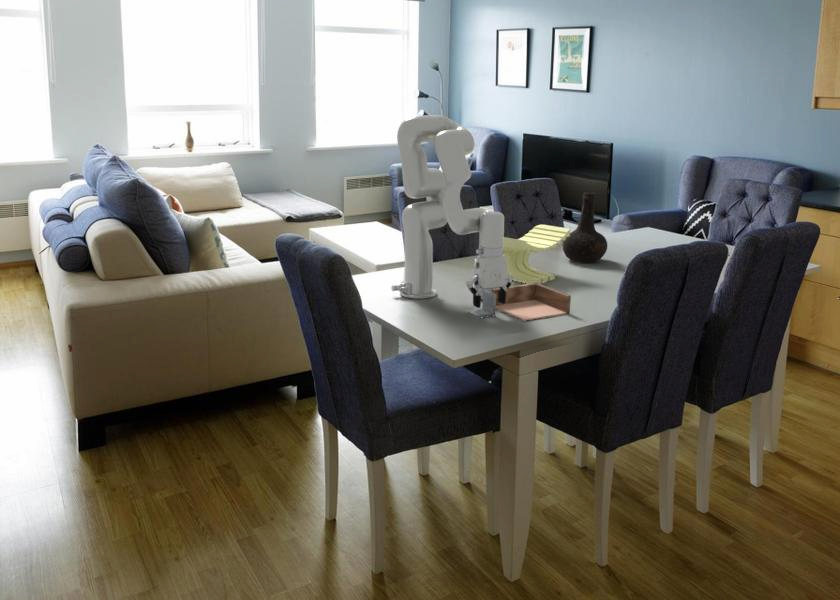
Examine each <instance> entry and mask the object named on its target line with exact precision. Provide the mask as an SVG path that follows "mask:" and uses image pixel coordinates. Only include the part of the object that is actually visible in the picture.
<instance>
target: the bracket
mask: <svg viewBox="0 0 840 600" xmlns="http://www.w3.org/2000/svg"><path fill="white" fill-rule="evenodd" d="M481 302H482V307H481V308H477V309H470V310H466V313H465V314H466V315H468V314H469V315H468V316H470V315H471V316H470V317H472V316H473V317H472V318H474V317H475V318H474V319H476V318H479V319H482V318H481V317H485V318H488V317H487V316H492V317H494V316H493V315H495V316H496V310H497V309H496V294H493V293H491V292H489V291H486V290H483V299H482V301H481Z"/></svg>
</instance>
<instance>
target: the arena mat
mask: <svg viewBox="0 0 840 600" xmlns="http://www.w3.org/2000/svg"><path fill="white" fill-rule="evenodd" d="M497 309H499V310H498V311H500V310H501V311H500V312H502V311H503V312H502V313H504V312H505V313H504V314H506V313H507V315H508V314H510V315H509V316H511V315H512V316H511V317H513V316H514V317H513V318H515V317H516V319H517V318H519V319H518V320H520V319H521V320H520V321H522V320H523V321H522V322H528V321H527V320H530V321H534V320H533V319H536V320H541V319H546V317H547V318H553V317H557V316H558V317H559V316H563V315H564V316H566V315H567V314H566V312H563V311H561V310H558V309H556V308H554V307H551V306H549V305H546V304H544V303H541V302H539V301H536V300H530V301H524V302H517V303H511V304H504V305H498V306H496V310H497ZM540 318H541V319H540Z"/></svg>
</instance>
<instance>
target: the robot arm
mask: <svg viewBox="0 0 840 600" xmlns="http://www.w3.org/2000/svg"><path fill="white" fill-rule="evenodd" d="M396 140H397V145H398V149H399V154H400V161H401V174H402V183H403V190H404V193H405V195H406V197H408V198H410V199H423V198H426V201H420V202H419V201H418V202H414V203H411V204H408V205H407V206H406V207H405V208H404V209H403V210H402V213H401V222H402V228H403V235H404V237H403V238H404V280H402V281H401V283H400V284H394V285H391V291H392V292H397V291H398V292H399V295H400V296H401V297H405V298H408V299H417V300H418V299H419V300H420V299H429V298H433V297H435V296H437V289H435V288H433V261H434V260H433V258H434V257H433V255H434V249H433V248H434V247H433V245H434V244H433V240H432V239H433V238H432V237H431V235H430V232H429V230H433V229H440V228H442V227H445V225H447V223H448V226H449V228H450V229H451V231H452V232H454V233H455V234H456V235H459V236H462V235H463V236H464V235H468V234H474V233H478V234H479V235H478V236H479V239H478V249H476V250H475V254H478V255H477V257H476V259H477V260H476V265H475V264H474V273H473V274H474V275H473V276H472V277H471V278H470V279H469V280H467V281H466V282H465V284H466V286H467V288H468V291H469V292H471V294H472V304H473V307H475V308H477V309H481V308H482V307H481V302H482V301H481V300H482V299H481V296H480V295H479V294H480V293H481V291H482V290H483V289H493V288H500V290H499V291H498V302H500V303H502V304H505V300H506V292H507V291H508V288H509V287H510V286H511V285H512V282H513V281H512V280H513V278H514V277H513V276H511V275H509V274H507V263H506V257H505V255H503V242H504V237H505V236H504V234H505V215H504V214H503V213H502V212H500V211H490V210H488V209H486V208H482V207H473V208H466V209H464V208H463V204H462V201H461V191H462V188H463V186H464V184H465V183H467V181H468V180H470V178H471V177H472V170H471V168H470V165H469V162H468V159H467V155H470V154H471V153H472V152H473V151H474V149H475V145H476V144H475V139H474V136H473V134H472V133H471V132H470V131H469V130H468V129H467V128H465V127H464V126H463V125H461V124H460V123H457V122H456V121H454V120H453V119H451V118H449V117H447V116H445V115H443V114H442V115H441V114H434V115H433V114H432V115H414V116H411V117H408V118H406V119H404V120H403V121H402V122H401V124H400V125H399V127H398V129H397V135H396ZM430 142H431V143H432V142H433V147H434V151H435V154H436V157H437V160H438V162H439V166H440V169H438V168H436V167H428V158H427V157H428V156H427V154H426V152H425V149H424V148H423V146H422V145H421V144H422V143H430ZM474 285H475V287H474Z"/></svg>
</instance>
